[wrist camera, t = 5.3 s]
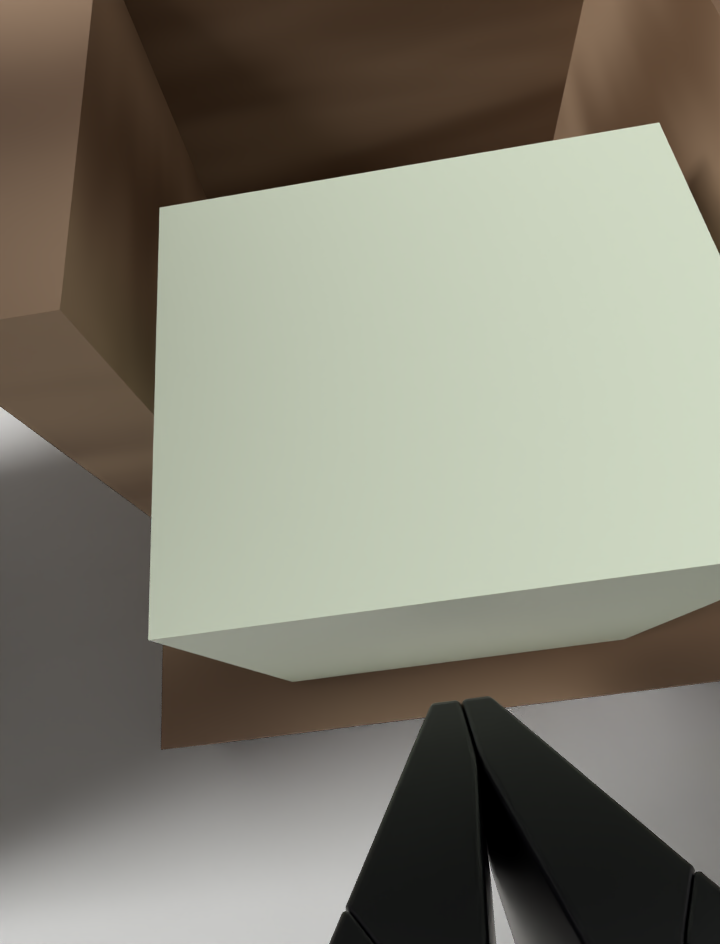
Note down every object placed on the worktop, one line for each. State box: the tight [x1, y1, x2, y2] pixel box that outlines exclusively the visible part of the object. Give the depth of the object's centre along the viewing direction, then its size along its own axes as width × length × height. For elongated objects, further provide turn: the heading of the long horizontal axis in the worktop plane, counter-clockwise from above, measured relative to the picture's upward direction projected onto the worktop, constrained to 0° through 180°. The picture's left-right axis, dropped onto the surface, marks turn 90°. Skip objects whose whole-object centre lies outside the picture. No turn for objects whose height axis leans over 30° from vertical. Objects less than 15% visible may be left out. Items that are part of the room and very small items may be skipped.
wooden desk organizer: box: [0, 0, 720, 750], centre depth 13 cm, size 15×24×13 cm, turn 97°
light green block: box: [148, 123, 720, 682], centre depth 10 cm, size 6×7×7 cm
